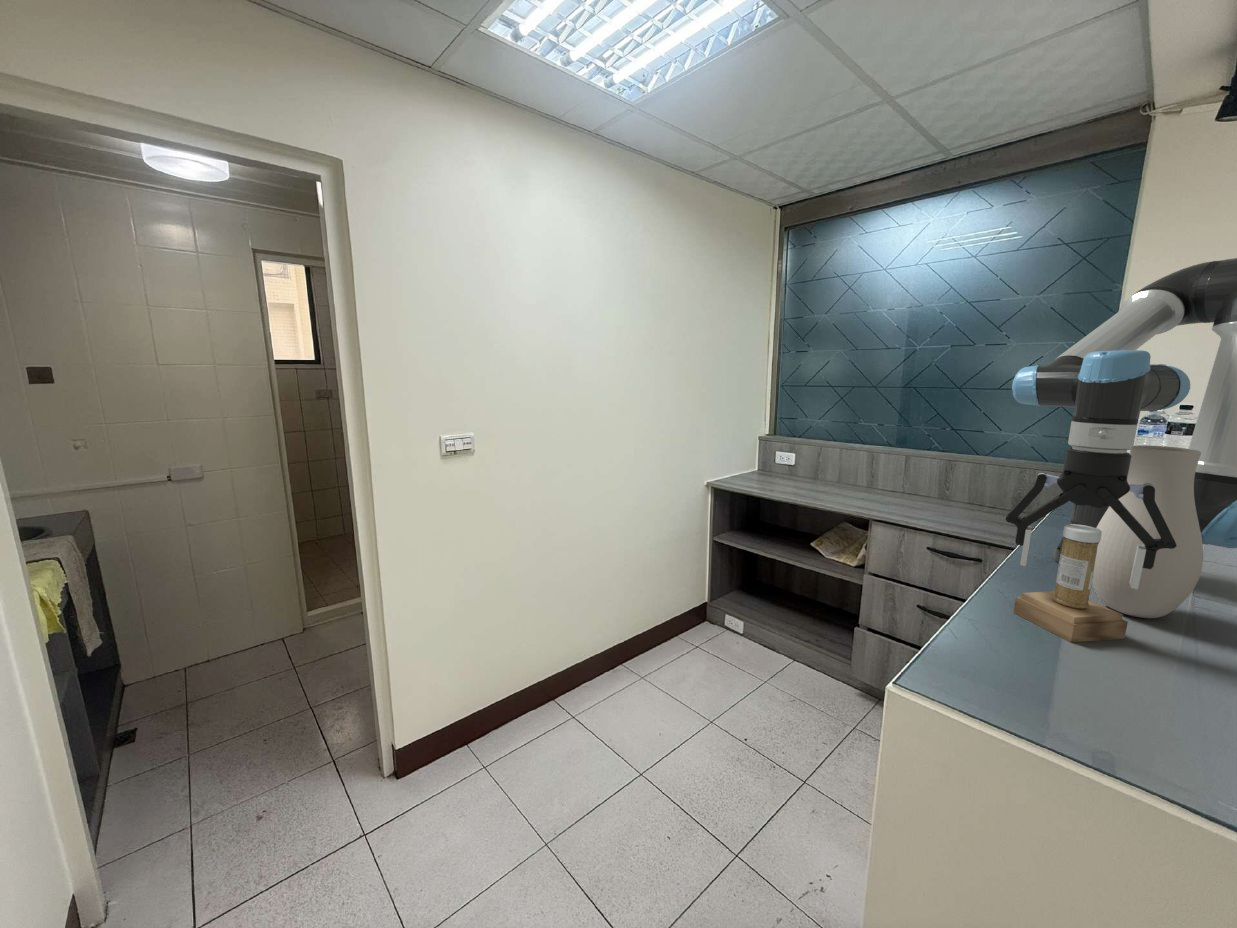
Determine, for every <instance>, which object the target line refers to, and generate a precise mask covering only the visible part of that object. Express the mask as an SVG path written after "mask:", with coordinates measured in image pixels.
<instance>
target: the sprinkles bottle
mask: <svg viewBox="0 0 1237 928" xmlns="http://www.w3.org/2000/svg"><path fill="white" fill-rule="evenodd" d="M1101 534H1102V532H1101V530H1099V529H1097V528H1094V527H1090V526H1085V525H1077V524H1070V523H1069V524H1064V526H1063V531H1062V538H1063V544H1062V550H1061V554H1060V560H1059V563H1058V567H1057V573H1056V578H1055V581H1056V582H1055V588H1054V591H1055V593H1054V596H1053V599H1054V600H1055V601H1056V602H1057V603H1059V604H1062V605H1064V606H1068V607H1072V608H1087V607H1088V606H1089V603H1088V601H1089V600H1090V595H1091V590H1092V586H1093V583H1092V581H1093V575H1094V566H1095V560H1096V554H1097V547H1098V544H1099V542H1100V541H1101Z"/></svg>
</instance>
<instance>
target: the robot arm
mask: <svg viewBox="0 0 1237 928" xmlns="http://www.w3.org/2000/svg"><path fill="white" fill-rule="evenodd" d="M1208 323H1209V324H1210V323H1213V324H1212V327H1211V331H1212V332H1214V333H1215V334H1216V335H1218V337H1220V342H1219V346H1218V349H1217V351H1216V355H1215V359H1214V362H1213V365H1212V369H1211V371H1210V376H1209V379H1208V382H1207V386H1206V389H1205V393H1204V396H1203V398H1202V402H1201V406H1200V409H1199V412H1198V416H1197V419H1196V423H1195V426H1194V429H1193V433H1192V436H1191V438H1190V439H1191V440H1190V443H1189V446H1188V449H1193V450H1197V451H1200V452H1201V456H1200V458H1199V461H1198V464H1197V467H1196V472H1195V477H1194V500H1195V507H1196V513H1197V517H1198V522H1199V527H1200V532H1201V537H1202V544H1203V545H1205V546H1206V545H1209V546H1210V545H1211V546H1216V547H1222V548H1226V549H1237V257H1236V258H1235V257H1234V258H1228V259H1223V260H1213V261H1206V262H1201V263H1198V264H1194V265H1191V266H1187V267H1185V268H1182V269H1180V270H1176V271H1173V272H1172V273H1170V274H1168V275H1165V276H1163V277H1161V278H1159V279H1156V280H1154V281H1153V282H1151V283H1149V284H1147V285H1146V286H1144V287H1142V288H1141V289H1139V290H1138V291H1136V292H1135V293H1134V294H1132V295H1131V296H1129V297H1128V298H1127V299H1126V300H1124V301H1123V303H1122V305H1121V306H1120V308H1119V311H1118V312H1116V313H1115V314H1113V315H1112V316H1111V317H1110V318H1109V319H1107V320H1105V321H1104V322H1102V323H1101V324H1100V325H1099V326H1098V327H1096V328H1095V329H1094V330H1092V331H1091V332H1090V333H1088V334H1087V335H1085V336H1084V337H1082V338H1081V339H1079V341H1078V342H1076V343H1075V344H1073V345H1072V346H1071V347H1069V348H1067V350H1065V351H1064V352H1063V353H1061V354H1060V355H1059V356H1057V357H1056V358H1055V359H1053V360H1051V362H1049V363H1048V364H1046V365H1040V364H1037V365H1031V366H1025V367H1022V368H1020V369H1019V370H1018V372H1016V374H1015V376H1014V378H1013V381H1012V387H1011V390H1012V396H1013V397H1014V398H1013V399H1014V400H1015V401H1016V402H1017V403H1018V404H1021V405H1029V406H1037V407H1054V408H1055V407H1057V408H1074V409H1073V415H1072V418H1071V419H1072V420H1071V423H1070V427H1069V428H1070V429H1069V435H1068V441H1067V444H1068V445H1069V446H1071V447H1069V448H1068V449H1066V450H1065V451H1066V452H1065V455H1064V456H1065V458H1064V463H1063V468H1062V472H1061V474H1060V476H1055V475H1051V474H1047V473H1046V472H1043V471H1041V472H1039V473H1038V474H1037V477H1036V480H1035V483H1034V485H1033V486H1032V487H1031V488H1030V489H1029V490H1028V492H1027V493H1026V494H1025V495H1024V496H1022V497H1021V499H1020V500H1019V501H1018V502H1017V504H1015V506H1014V507H1013V508H1012V509H1011V510H1010V511H1009V513H1007V514H1006V517H1005V521H1006V522H1007V523H1009V524H1010V523H1011V524H1013V525H1014V526H1015V527H1016V529H1017V530H1016V536H1015V541H1014V542H1015V544H1016V545H1017V546H1022V551H1021V558H1020V564H1019V566H1023V567H1026V566H1027V563H1028V555H1029V550H1030V543H1031V537H1032V533H1033V526H1031V525H1032V524H1034V523H1035V522H1037V521H1039V520H1040V519H1042V518H1043V517H1045V516H1046V515H1049V514H1050V513H1052V512H1053V511H1054V510H1056V509H1058V508H1059V507H1062V506H1063V505H1065V504H1067V503H1069V502H1070V503H1072V505H1073V506H1072V512H1071V517H1070V522H1069V524H1077V525H1085V526H1090V527H1094V528H1096V527H1097V526H1098V524H1099V522H1100V520H1101V519H1102V517H1103V516H1104V514H1105V512H1106V511H1107V509H1108V508H1109V506H1110V507H1111V508H1112V509H1113V510H1114V511H1115V512H1116V513H1117V514H1118V515H1119V517H1120V518H1121V519H1122V520H1123V521H1124V522H1125V523H1126V524H1127V526H1128V527H1129V528H1130V529H1131V530H1132V531H1133V532H1134V533H1135V534H1136V536H1137V537H1138V538H1139V539H1140V540H1141V541H1142V542H1143V543H1144V545H1145V546H1144V545H1139V544H1138V545H1137V549H1136V554H1135V559H1134V564H1133V569H1132V574H1131V578H1130V586H1131V588H1134V589H1138V586H1139V582H1140V577H1141V572H1142V568H1146V569H1152V568H1153V566H1154V561H1155V556H1156V552H1157V551H1158V550H1159V549H1163V548H1169V549H1173V548H1175V547H1176V546H1177V545H1176V542H1175V540H1174V538H1173V536H1172V534H1171V532H1170V530H1169V528H1168V526H1167V524H1166V522H1165V520H1164V518H1163V516H1162V514H1161V512H1160V510H1159V508H1158V506H1157V504H1156V502H1155V488H1154V487H1153V485H1152V484H1149V483H1146V484H1143V485H1132V484H1128V482H1127V476H1128V471H1129V466H1130V461H1131V455H1130V453H1129V452H1128V451H1130V450H1131V449H1132V448H1133V446H1135V440H1136V439H1135V438H1136V435H1137V429H1138V424H1139V419H1140V414H1141V412H1151V413H1152V412H1154V413H1155V412H1158V411H1162V410H1166V409H1171V408H1173V407H1175V406H1177V405H1179V404H1180V403H1182V402H1183V401H1184V399H1186V397H1188V395H1189V393H1190V390H1191V380H1190V378H1189V376H1188V374H1187V373H1186V372H1184V371H1183V370H1182V369H1181V368H1178V367H1175V366H1171V365H1167V364H1162V363H1160V364H1154V363H1153V364H1151V354H1150V352H1148V351H1147V350H1142V349H1141V350H1139V348H1141V346H1143V345H1145V344H1146V343H1147V342H1148V341H1150V340H1151V339H1152V338H1154V337H1155V336H1156V335H1161V334H1164V333H1166V332H1167V333H1168V332H1170V331H1171V330H1173V329H1174V328H1176V327H1178V326H1185V325H1192V324H1208ZM1053 484H1057V486H1058V487H1059V488H1060V490H1061V493H1059V494H1058V495H1056V496H1055V497H1053V498H1052V499H1050V500H1049V501H1047V502H1045V503H1044V504H1042V505H1041V506H1039V507H1038V508H1036V509H1034V510H1032V512H1030V513H1029V514H1027V515H1025V516H1023V517H1020V515H1021V514H1022V513H1023V512H1024V510H1026V509H1027V508H1028V506H1030V504H1031V503H1032V502H1033V501H1034V500H1035V499H1036V498H1037V496H1038V495H1040V493H1041V492H1042V491H1043V489H1044V488H1050V487H1051V486H1052V485H1053ZM1129 491H1130V492H1133V493H1134V494H1135V496H1136V497H1137V498H1139V499H1142V500H1143V503H1144V505H1145V507H1146V509H1147V511H1148V513H1149V515H1150V517H1151V519H1152V521H1153V523H1154V525H1155V527H1156V529H1157V531H1158V533H1159V535H1160V537H1161V539H1153V538H1152V536H1151V535H1150V534H1149V533H1148V532H1147V531H1146V530H1145V529H1144V528H1143V526H1142V525H1141V524H1140V523H1139V522H1138V521H1137V520H1136V519H1135V518H1134V516H1133V515H1132V514H1131V513H1130V512H1129V511H1128V510H1127V509H1126V508H1125V506H1124V505H1123V504H1122V503H1121V502H1120V501H1119V500H1118V499H1120V498H1121V497H1122V496H1124V495H1125V494H1127V493H1128V492H1129ZM1062 544H1063V537H1062V538H1061V540H1060V542H1059V543H1058V545H1057V546H1056V547H1055V549H1054V552H1053V553H1054V555H1053V560H1054V561H1055V562H1057V563H1058V564H1059V560H1060V554H1061V550H1062Z"/></svg>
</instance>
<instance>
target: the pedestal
mask: <svg viewBox="0 0 1237 928" xmlns="http://www.w3.org/2000/svg"><path fill="white" fill-rule="evenodd" d="M1054 593H1055V590H1052V591H1048V590H1047V591H1036V592H1035V591H1033V592H1032V591H1031V592H1021V596H1016V597H1015V599H1014V600H1015V602H1014V607H1013V614H1015V615H1016V616H1019V617H1021V618H1023V619H1025V620H1026V621H1028V622H1031V623H1032V624H1034V625H1037V626H1038V627H1040V628H1042V629H1044V630H1046V631H1048V632H1050V633H1052V634H1053V635H1055V636H1058V637H1060V638H1061V639H1063V640H1065V641H1067V642H1069V643H1082V642H1083V643H1085V642H1093V641H1094V642H1096V641H1110V640H1120V639H1125V637H1126V632H1127V628H1128V627H1127V626H1128V623H1129V622H1128V621H1127V620H1125V619H1123V616H1124V614H1123V613H1120V612H1118V611H1116V610H1113V609H1112V608H1110V607H1109V608H1108V607H1106V606H1104V605H1102V604H1099V603H1097V602H1094V601H1092V600H1090V599H1089V601H1088V603H1089V606H1088V607H1087V608H1072V607H1068V606H1064V605H1062V604H1059V603H1057V602H1056V601H1055V600H1054V599H1053V596H1054Z"/></svg>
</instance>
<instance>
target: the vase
mask: <svg viewBox="0 0 1237 928" xmlns="http://www.w3.org/2000/svg"><path fill="white" fill-rule="evenodd" d="M1129 451H1130V455H1131V461H1130V466H1129V471H1128V476H1127V482H1128V484H1132V485H1143V484H1146V483H1149V484H1152V485H1153V487H1154V488H1155V502H1156V504H1157V506H1158V508H1159V510H1160V512H1161V514H1162V516H1163V518H1164V520H1165V522H1166V524H1167V526H1168V528H1169V530H1170V532H1171V534H1172V536H1173V538H1174V540H1175V542H1176V545H1177V546H1176V547H1175V548H1173V549H1169V548H1163V549H1159V550H1158V551H1157V552H1156V556H1155V561H1154V566H1153V568H1152V569H1146V568H1142V572H1141V577H1140V582H1139V586H1138V589H1134V588H1131V586H1130V578H1131V574H1132V569H1133V564H1134V559H1135V554H1136V549H1137V545H1138V544H1139V545H1144V543H1143V542H1142V541H1141V540H1140V539H1139V538H1138V537H1137V536H1136V534H1135V533H1134V532H1133V531H1132V530H1131V529H1130V528H1129V527H1128V526H1127V524H1126V523H1125V522H1124V521H1123V520H1122V519H1121V518H1120V517H1119V515H1118V514H1117V513H1116V512H1115V511H1114V510H1113V509H1112V508H1111V507H1110V506H1109V508H1108V509H1107V511H1106V512H1105V514H1104V516H1103V517H1102V519H1101V520H1100V522H1099V524H1098V526H1097V527H1096V528H1097V529H1099V530H1101V532H1102V534H1101V541H1100V542H1099V544H1098V547H1097V554H1096V560H1095V566H1094V575H1093V581H1092V586H1093V589H1094V591H1095V593H1096V594H1097V596H1098V598H1099V600H1100V601H1101V602H1103V603H1104V605H1106V606H1107V608H1108V607H1109V609H1111V610H1114V611H1116V612H1118V613H1121V614H1123V615H1127V616H1130V617H1135V618H1142V619H1157V618H1161V617H1165V616H1167V615H1168V614H1170V613H1172V612H1173V611H1175V610H1176V609H1177V608H1179V606H1180V605H1181V604H1183V603H1184V602H1185V601H1186V600H1187V598H1188V597H1189V596H1190V595H1191V594H1192V592H1193V590H1194V589H1195V588H1196V586H1197V583H1198V581H1199V579H1200V577H1201V573H1202V570H1203V562H1204V544H1202V537H1201V532H1200V527H1199V522H1198V517H1197V513H1196V507H1195V500H1194V477H1195V472H1196V467H1197V464H1198V461H1199V458H1200V456H1201V452H1200V451H1197V450H1193V449H1189V448H1186V447H1185V448H1184V447H1177V446H1176V447H1175V446H1164V445H1163V446H1162V445H1144V444H1143V445H1139V444H1137V445H1134V446H1133V448H1132V449H1131V450H1129ZM1118 500H1119V501H1120V502H1121V503H1122V504H1123V505H1124V506H1125V508H1126V509H1127V510H1128V511H1129V512H1130V513H1131V514H1132V515H1133V516H1134V518H1135V519H1136V520H1137V521H1138V522H1139V523H1140V524H1141V525H1142V526H1143V528H1144V529H1145V530H1146V531H1147V532H1148V533H1149V534H1150V535H1151V536H1152V538H1153V539H1161V537H1160V535H1159V533H1158V531H1157V529H1156V527H1155V525H1154V523H1153V521H1152V519H1151V517H1150V515H1149V513H1148V511H1147V509H1146V507H1145V505H1144V503H1143V500H1142V499H1139V498H1137V497H1136V496H1135V494H1134V493H1133V492H1130V491H1129V492H1128V493H1127V494H1125V495H1124V496H1122V497H1121V498H1120V499H1118ZM1144 546H1145V545H1144Z"/></svg>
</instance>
